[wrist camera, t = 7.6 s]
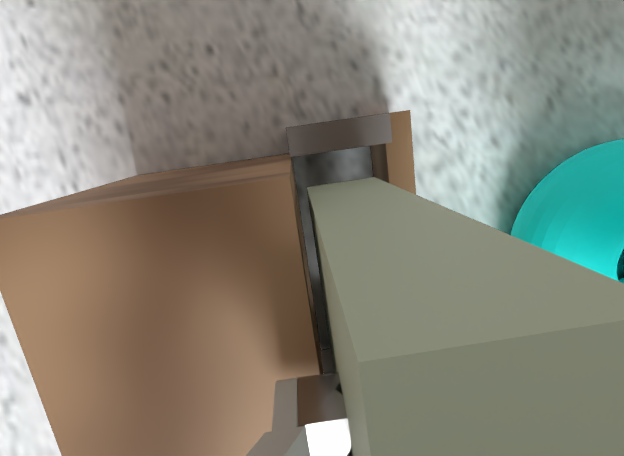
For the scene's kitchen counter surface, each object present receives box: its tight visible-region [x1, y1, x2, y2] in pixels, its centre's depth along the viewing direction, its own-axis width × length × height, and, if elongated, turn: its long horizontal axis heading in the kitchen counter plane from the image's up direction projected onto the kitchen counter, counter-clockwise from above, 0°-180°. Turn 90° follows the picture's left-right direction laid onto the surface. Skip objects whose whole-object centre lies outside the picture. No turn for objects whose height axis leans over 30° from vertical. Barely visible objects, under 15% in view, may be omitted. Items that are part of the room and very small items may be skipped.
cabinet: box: [0, 110, 416, 456], centre depth 14 cm, size 12×12×9 cm
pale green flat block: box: [307, 177, 624, 456], centre depth 9 cm, size 3×9×11 cm, turn 8°
